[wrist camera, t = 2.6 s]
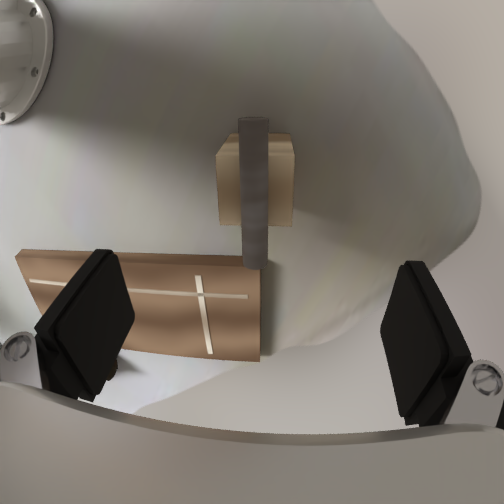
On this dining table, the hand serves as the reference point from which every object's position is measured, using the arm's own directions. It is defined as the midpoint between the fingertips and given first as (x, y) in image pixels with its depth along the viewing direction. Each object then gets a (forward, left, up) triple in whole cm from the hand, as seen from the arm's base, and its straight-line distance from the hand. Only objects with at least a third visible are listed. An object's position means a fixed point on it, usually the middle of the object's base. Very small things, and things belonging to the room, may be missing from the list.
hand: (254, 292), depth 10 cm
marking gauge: (0, 0, -14) cm, 14 cm away
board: (+14, -13, -14) cm, 24 cm away
